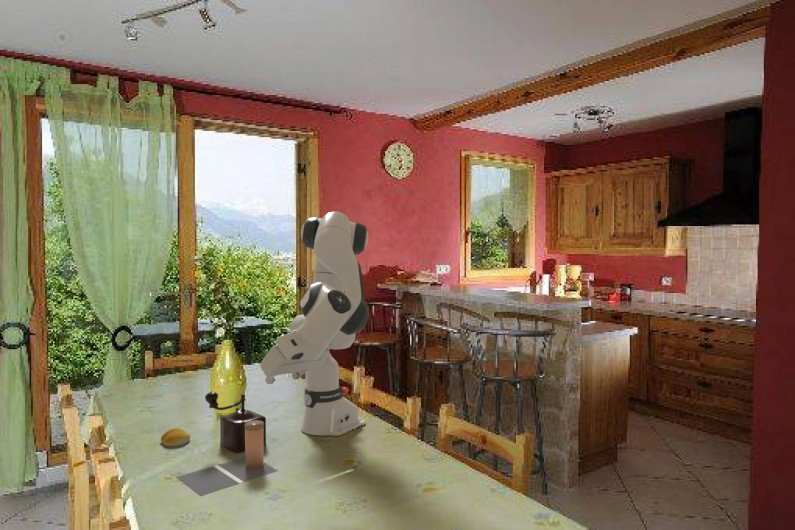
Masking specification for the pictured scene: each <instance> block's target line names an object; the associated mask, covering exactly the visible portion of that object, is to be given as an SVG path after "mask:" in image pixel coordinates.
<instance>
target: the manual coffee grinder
mask: <svg viewBox="0 0 795 530" xmlns="http://www.w3.org/2000/svg"><path fill="white" fill-rule="evenodd" d="M204 399H205V402H207V403H208V404H209V405H208V408H209V409H214V410H217V411H224V410H228V409H232V408H233V407H236V406H238V405H241V409H239V407H236V408H235V411H234V412H231V413H229V414H227V415H223V416H220V417H219V419H220V421H219V422H220V425H219V427H220V435H219V436H220V440H219V441H220V443H219V447H223V448H225V449H226V450H228V451H230V452H232V453H235V454H239V453H243V452H244V453H245V423H246V422H249V421H255V420H258V421H263V422H264V446H265V445H267V428H266V427H267V426H266V425H267V424H266V422H267V419H266V416H263V415H261V414H259V413H256V412H254V411H252V410H250V409H249V410H247V409H245V402H246V394H245V393H242V394H241V395H240V400H238V401H236V402H235V403H231V404H229V405H227V406H222V407H221V406H219V403H218V399H219V394H218V393H217V392H215V391H210V392H207V394H206V395H205V396H204Z"/></svg>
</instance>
